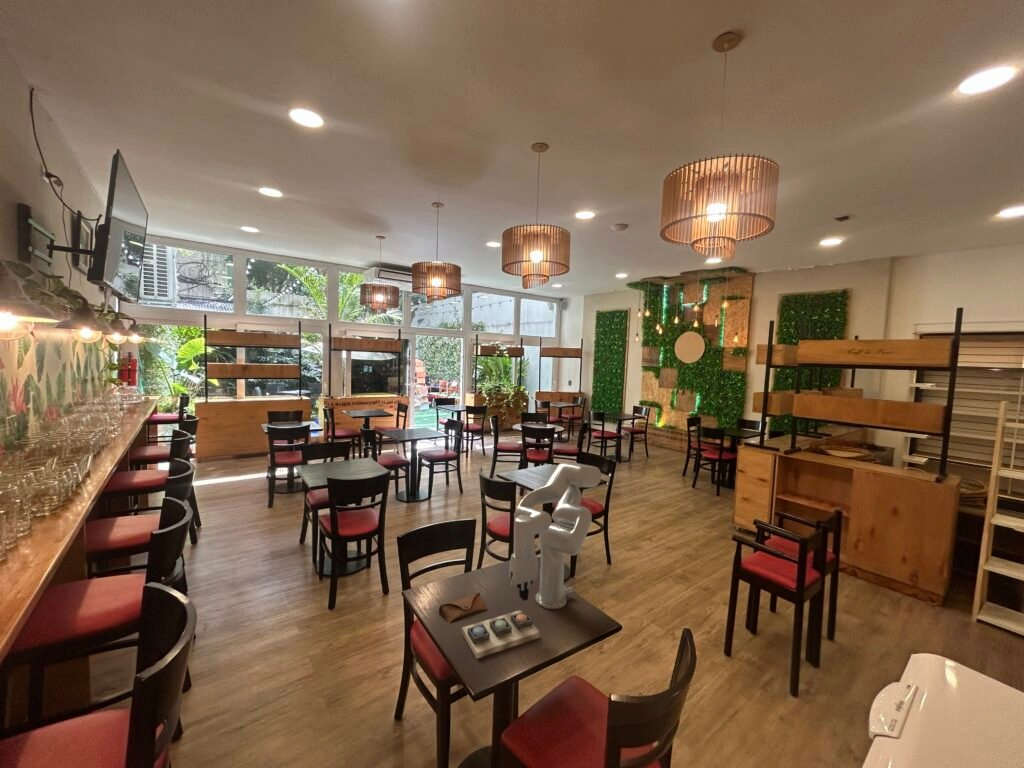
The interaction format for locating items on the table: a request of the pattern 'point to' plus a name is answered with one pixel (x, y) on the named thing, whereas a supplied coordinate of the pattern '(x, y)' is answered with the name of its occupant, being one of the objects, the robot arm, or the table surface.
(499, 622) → the sage button
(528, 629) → the button panel
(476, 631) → the slate button
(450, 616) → the sunglasses case
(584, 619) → the table surface
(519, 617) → the terracotta button
